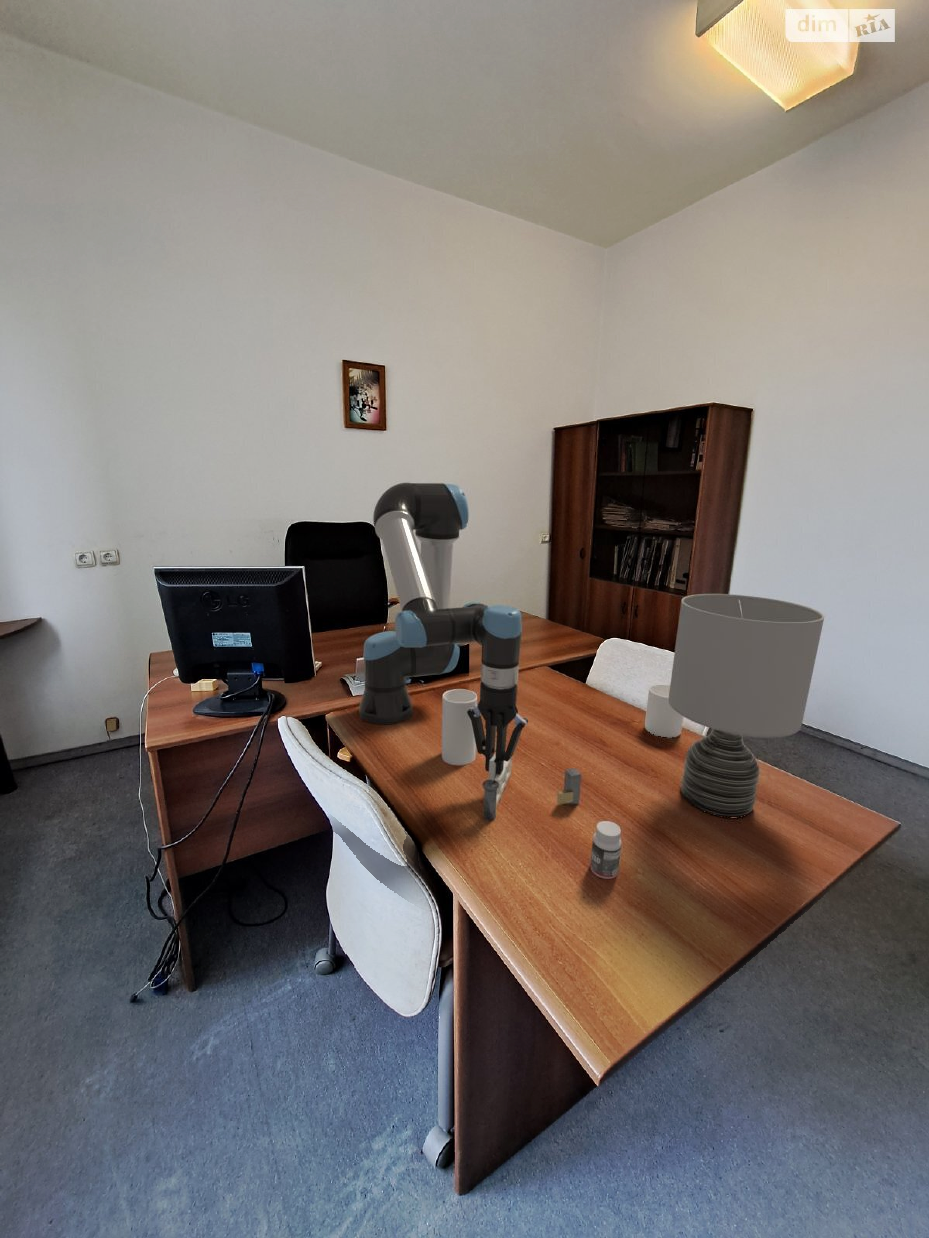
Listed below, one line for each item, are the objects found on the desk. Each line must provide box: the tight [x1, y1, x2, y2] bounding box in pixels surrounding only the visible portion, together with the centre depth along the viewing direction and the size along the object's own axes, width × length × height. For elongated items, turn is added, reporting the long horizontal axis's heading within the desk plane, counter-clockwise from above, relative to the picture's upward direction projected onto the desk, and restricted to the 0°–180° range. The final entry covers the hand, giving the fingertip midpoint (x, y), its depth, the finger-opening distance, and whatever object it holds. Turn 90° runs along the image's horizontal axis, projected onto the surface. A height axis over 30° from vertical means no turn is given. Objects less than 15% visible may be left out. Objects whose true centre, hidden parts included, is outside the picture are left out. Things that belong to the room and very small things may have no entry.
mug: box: [644, 684, 684, 739], centre depth 138 cm, size 10×12×12 cm
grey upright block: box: [556, 768, 582, 807], centre depth 104 cm, size 3×5×7 cm, turn 108°
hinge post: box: [482, 779, 499, 822], centre depth 99 cm, size 3×3×7 cm
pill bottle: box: [589, 820, 622, 880], centre depth 86 cm, size 5×5×8 cm
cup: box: [441, 688, 478, 766], centre depth 121 cm, size 8×8×16 cm
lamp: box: [669, 593, 825, 819], centre depth 102 cm, size 24×24×42 cm
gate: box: [494, 757, 512, 807], centre depth 108 cm, size 14×1×5 cm, turn 162°
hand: (493, 785), depth 108 cm, fingers closed
